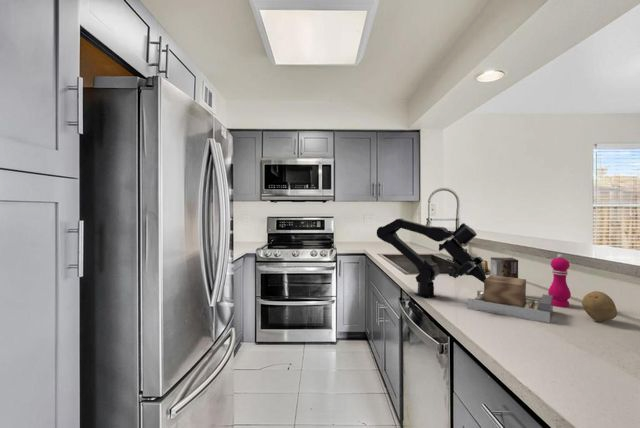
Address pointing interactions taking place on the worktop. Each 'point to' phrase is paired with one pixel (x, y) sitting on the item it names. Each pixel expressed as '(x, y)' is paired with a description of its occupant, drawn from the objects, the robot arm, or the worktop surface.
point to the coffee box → (504, 267)
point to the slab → (505, 290)
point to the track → (516, 307)
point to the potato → (599, 306)
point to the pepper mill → (559, 282)
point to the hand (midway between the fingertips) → (486, 283)
